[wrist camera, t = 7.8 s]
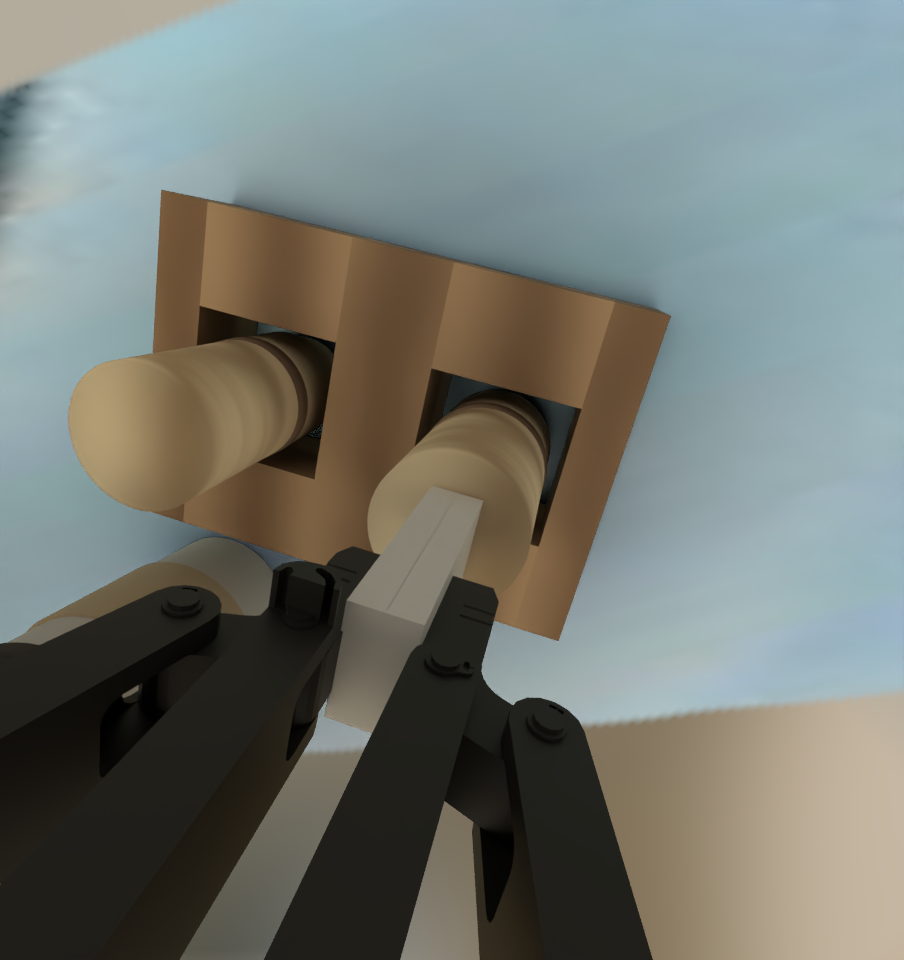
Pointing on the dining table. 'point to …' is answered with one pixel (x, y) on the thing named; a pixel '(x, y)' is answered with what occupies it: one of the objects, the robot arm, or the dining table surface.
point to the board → (401, 378)
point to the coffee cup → (199, 564)
